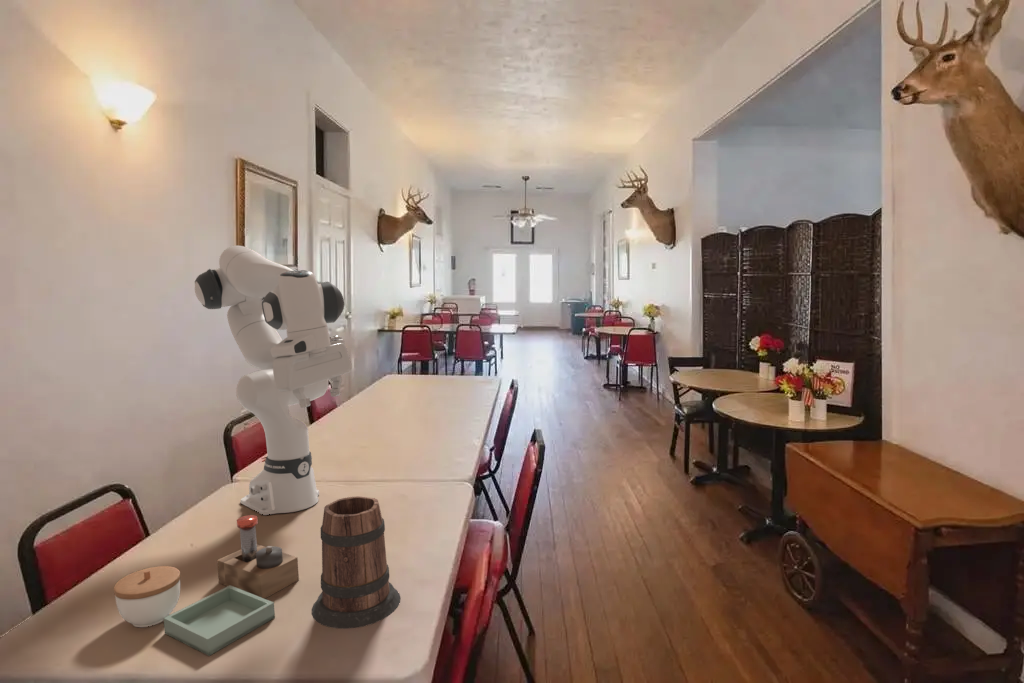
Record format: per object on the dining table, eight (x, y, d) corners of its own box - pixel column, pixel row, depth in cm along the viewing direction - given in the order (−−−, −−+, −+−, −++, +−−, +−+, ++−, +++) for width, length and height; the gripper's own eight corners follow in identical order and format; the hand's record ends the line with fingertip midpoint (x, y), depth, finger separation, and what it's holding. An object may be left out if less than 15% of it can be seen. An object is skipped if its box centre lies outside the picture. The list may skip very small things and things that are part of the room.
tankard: (409, 615, 114) (405, 512, 112) (315, 637, 108) (309, 529, 106) (384, 562, 136) (380, 475, 134) (304, 578, 129) (299, 486, 127)
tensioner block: (218, 582, 128) (215, 544, 127) (256, 564, 136) (253, 528, 135) (262, 599, 121) (259, 559, 120) (298, 580, 128) (296, 541, 127)
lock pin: (237, 580, 129) (232, 520, 127) (253, 572, 132) (249, 513, 131) (249, 585, 127) (244, 524, 125) (265, 576, 130) (261, 517, 129)
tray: (164, 633, 110) (163, 617, 110) (231, 599, 121) (230, 585, 121) (209, 655, 103) (207, 639, 103) (274, 617, 114) (273, 602, 114)
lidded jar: (136, 604, 120) (132, 559, 119) (193, 601, 121) (189, 556, 120) (104, 636, 109) (99, 587, 108) (167, 632, 110) (162, 583, 109)
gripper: (332, 335, 148) (343, 390, 150) (263, 351, 130) (276, 413, 132) (351, 333, 145) (362, 389, 147) (284, 349, 127) (297, 413, 129)
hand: (321, 401), depth 139 cm, fingers open, 8 cm apart
